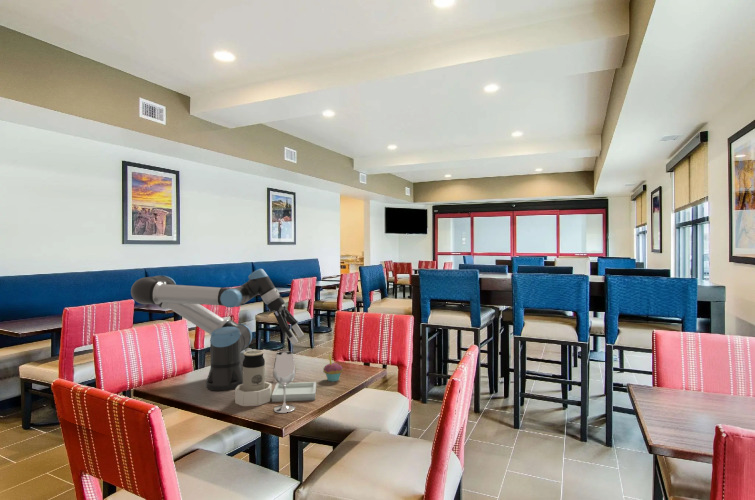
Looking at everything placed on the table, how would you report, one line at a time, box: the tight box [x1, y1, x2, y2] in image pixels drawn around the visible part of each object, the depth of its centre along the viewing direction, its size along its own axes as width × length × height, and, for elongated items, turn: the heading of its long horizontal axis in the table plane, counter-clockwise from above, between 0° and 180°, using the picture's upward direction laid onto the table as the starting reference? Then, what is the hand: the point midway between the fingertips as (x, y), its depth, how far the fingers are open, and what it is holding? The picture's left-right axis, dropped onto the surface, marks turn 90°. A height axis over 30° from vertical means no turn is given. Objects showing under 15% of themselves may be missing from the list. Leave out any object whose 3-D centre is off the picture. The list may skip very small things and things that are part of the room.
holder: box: [234, 381, 273, 407], centre depth 157 cm, size 13×13×5 cm
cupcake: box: [323, 353, 344, 382], centre depth 181 cm, size 9×8×12 cm
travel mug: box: [242, 349, 266, 392], centre depth 157 cm, size 8×8×18 cm
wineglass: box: [272, 350, 297, 414], centre depth 148 cm, size 8×8×20 cm
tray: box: [271, 381, 317, 403], centre depth 163 cm, size 16×14×2 cm
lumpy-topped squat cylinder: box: [240, 347, 257, 372], centre depth 201 cm, size 10×13×9 cm
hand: (298, 339), depth 188 cm, fingers open, 13 cm apart
